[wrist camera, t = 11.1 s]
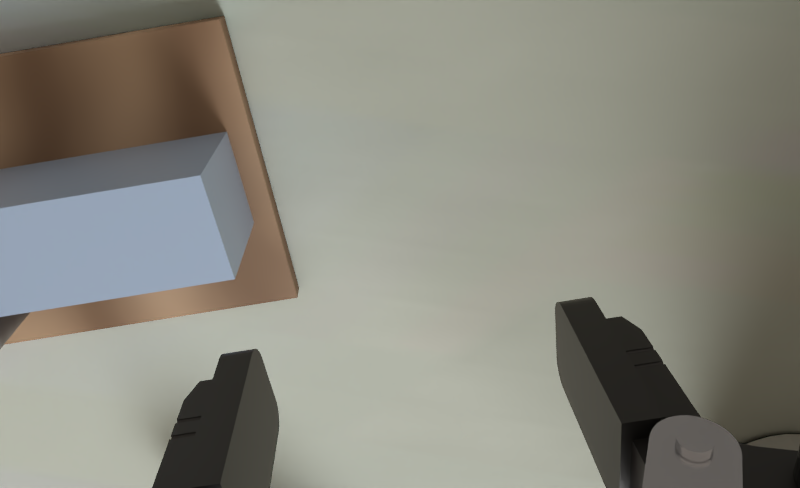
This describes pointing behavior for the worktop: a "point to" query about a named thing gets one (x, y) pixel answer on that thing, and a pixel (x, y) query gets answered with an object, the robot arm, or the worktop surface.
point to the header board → (136, 126)
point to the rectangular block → (121, 224)
